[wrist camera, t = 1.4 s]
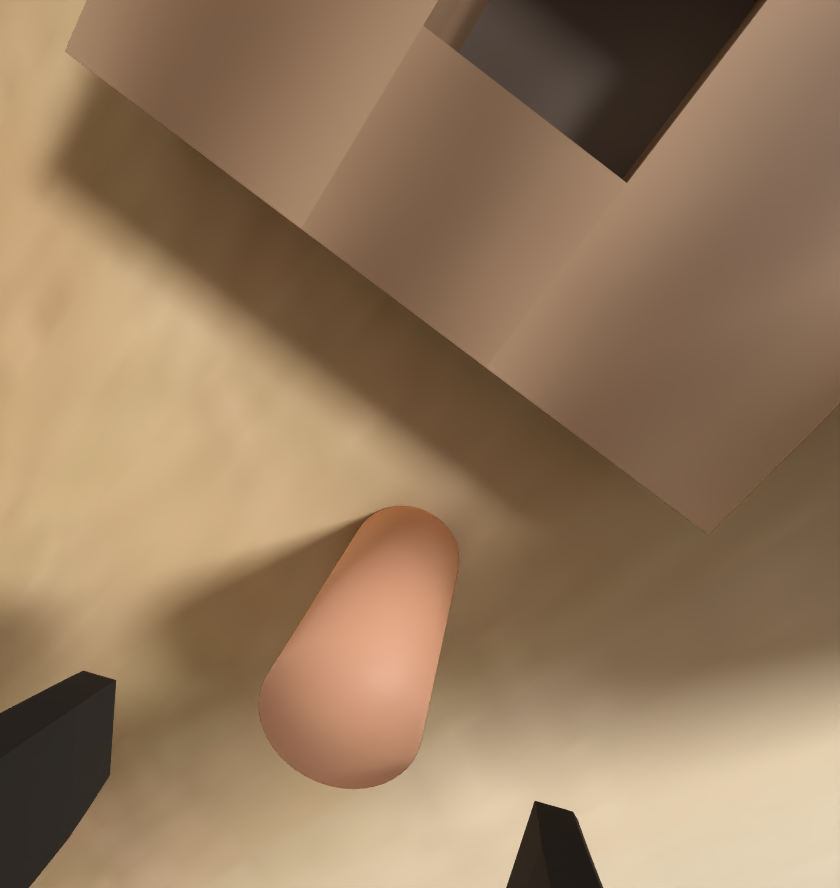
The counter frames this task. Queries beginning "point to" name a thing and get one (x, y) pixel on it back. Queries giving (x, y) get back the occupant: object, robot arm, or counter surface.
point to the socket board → (549, 194)
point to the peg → (365, 655)
